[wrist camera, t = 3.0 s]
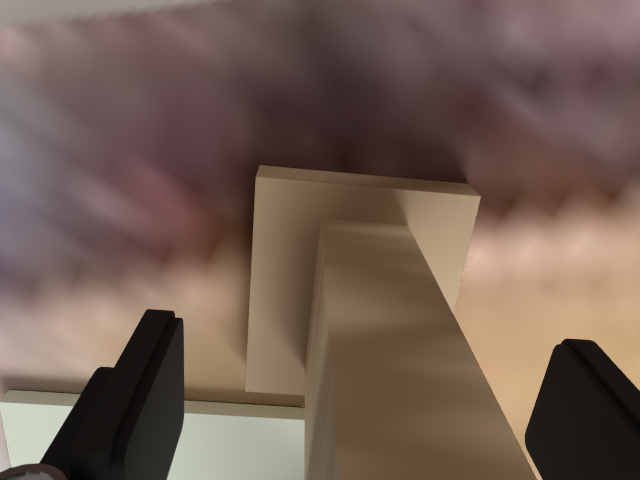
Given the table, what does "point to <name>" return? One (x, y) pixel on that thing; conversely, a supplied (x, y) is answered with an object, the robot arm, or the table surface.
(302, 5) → the table surface
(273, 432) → the board
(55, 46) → the table surface
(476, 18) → the table surface
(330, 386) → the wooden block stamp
